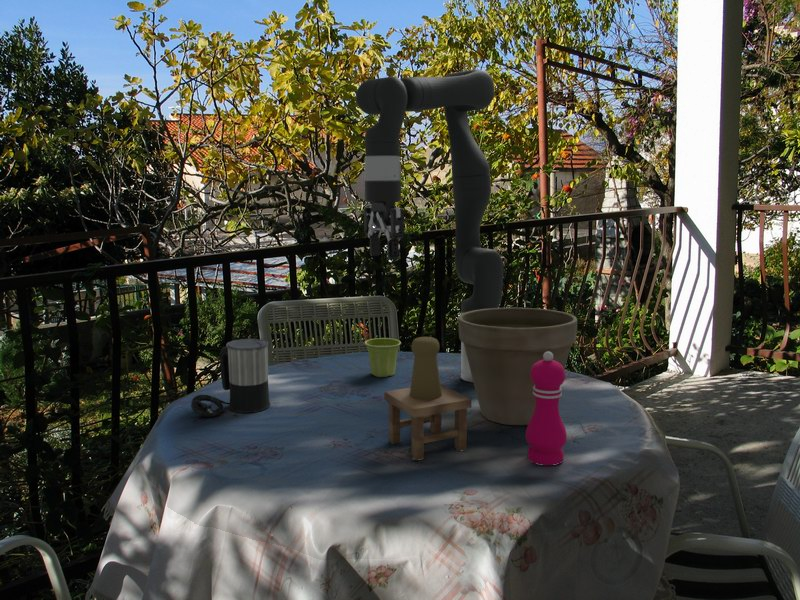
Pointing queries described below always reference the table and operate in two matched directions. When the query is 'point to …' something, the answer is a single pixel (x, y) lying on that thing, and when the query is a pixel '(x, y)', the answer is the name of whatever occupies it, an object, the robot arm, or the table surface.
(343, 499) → the table surface
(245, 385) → the milk frother
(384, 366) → the plant pot
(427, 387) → the cork
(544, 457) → the pepper mill
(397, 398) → the footstool
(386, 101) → the robot arm
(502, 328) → the plant pot
